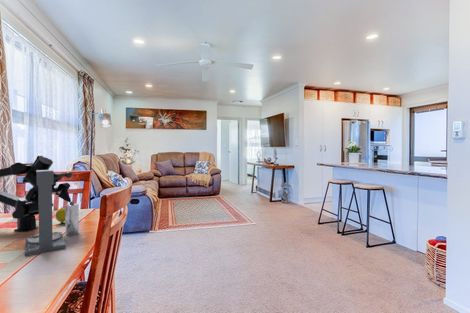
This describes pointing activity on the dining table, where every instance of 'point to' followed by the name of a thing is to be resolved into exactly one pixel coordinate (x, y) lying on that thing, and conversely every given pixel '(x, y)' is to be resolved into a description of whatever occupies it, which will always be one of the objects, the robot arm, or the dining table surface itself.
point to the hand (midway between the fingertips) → (61, 203)
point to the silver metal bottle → (71, 219)
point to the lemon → (60, 215)
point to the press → (45, 216)
